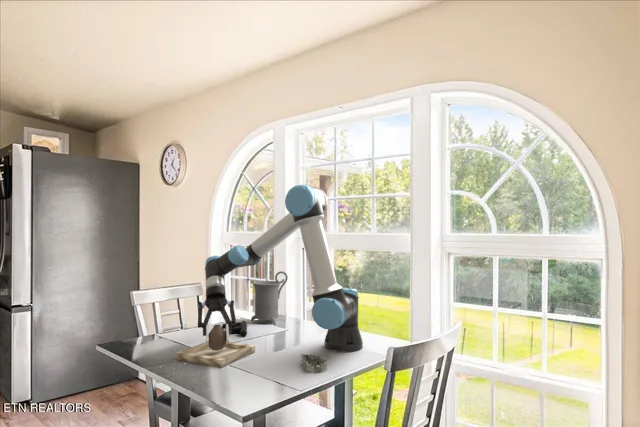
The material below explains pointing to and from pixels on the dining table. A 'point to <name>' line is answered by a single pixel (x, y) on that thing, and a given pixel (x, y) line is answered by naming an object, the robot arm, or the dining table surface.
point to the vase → (217, 338)
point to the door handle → (238, 328)
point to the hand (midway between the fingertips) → (217, 342)
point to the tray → (215, 354)
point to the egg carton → (313, 362)
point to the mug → (267, 298)
